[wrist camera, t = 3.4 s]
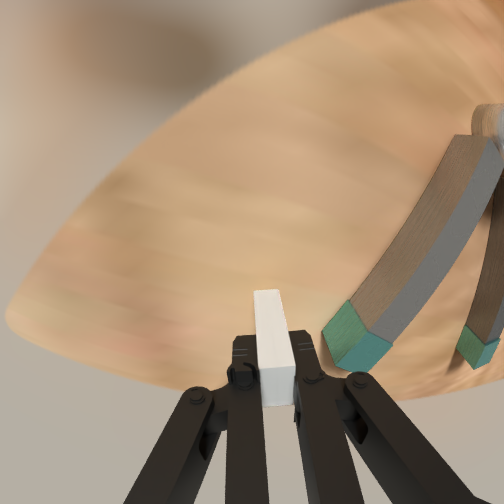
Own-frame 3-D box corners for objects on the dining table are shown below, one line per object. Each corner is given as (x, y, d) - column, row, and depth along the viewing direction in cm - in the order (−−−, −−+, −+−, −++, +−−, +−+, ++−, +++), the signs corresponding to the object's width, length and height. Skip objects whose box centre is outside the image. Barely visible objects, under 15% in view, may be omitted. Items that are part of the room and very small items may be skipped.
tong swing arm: (474, 85, 12) (521, 81, 7) (507, 134, 13) (550, 140, 9) (321, 330, 19) (341, 382, 14) (370, 353, 20) (394, 398, 15)
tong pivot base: (469, 97, 13) (508, 95, 9) (508, 114, 13) (542, 116, 9) (432, 355, 21) (453, 384, 17) (471, 341, 21) (492, 365, 17)
